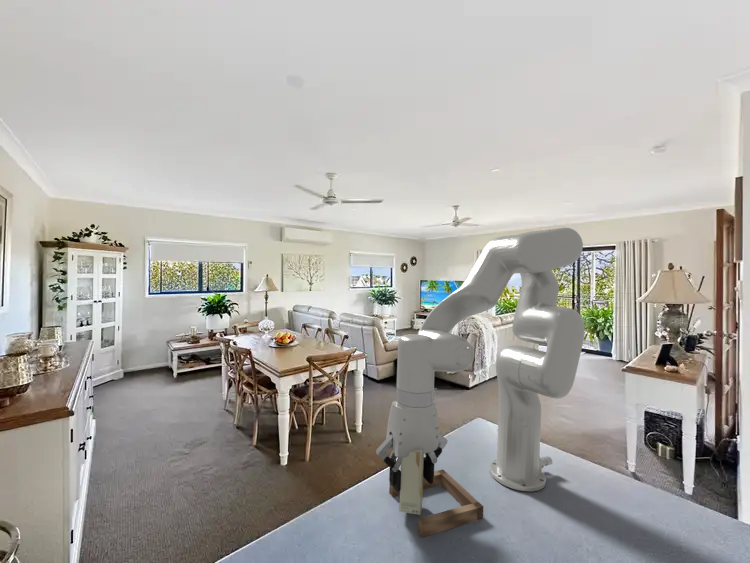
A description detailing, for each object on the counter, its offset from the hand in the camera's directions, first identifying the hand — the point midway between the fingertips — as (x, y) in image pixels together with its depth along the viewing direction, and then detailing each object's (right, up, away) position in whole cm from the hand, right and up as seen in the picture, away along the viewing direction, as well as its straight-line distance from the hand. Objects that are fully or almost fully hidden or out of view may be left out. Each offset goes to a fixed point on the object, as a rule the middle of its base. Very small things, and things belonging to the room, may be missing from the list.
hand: (411, 483), depth 70 cm
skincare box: (0, -5, 0) cm, 5 cm away
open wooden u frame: (+5, -6, +2) cm, 8 cm away
